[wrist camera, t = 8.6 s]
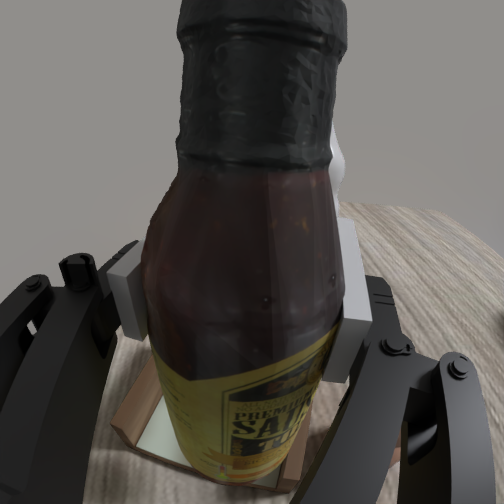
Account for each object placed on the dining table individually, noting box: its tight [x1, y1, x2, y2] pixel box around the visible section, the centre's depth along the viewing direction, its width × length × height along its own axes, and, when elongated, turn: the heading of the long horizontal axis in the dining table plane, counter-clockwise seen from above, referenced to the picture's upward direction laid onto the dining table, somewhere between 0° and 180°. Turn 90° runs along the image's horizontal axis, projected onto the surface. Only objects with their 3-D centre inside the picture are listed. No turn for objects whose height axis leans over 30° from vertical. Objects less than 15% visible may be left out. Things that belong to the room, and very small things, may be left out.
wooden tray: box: [110, 354, 313, 493], centre depth 24 cm, size 15×14×5 cm
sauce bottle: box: [141, 0, 347, 486], centre depth 10 cm, size 6×6×20 cm
